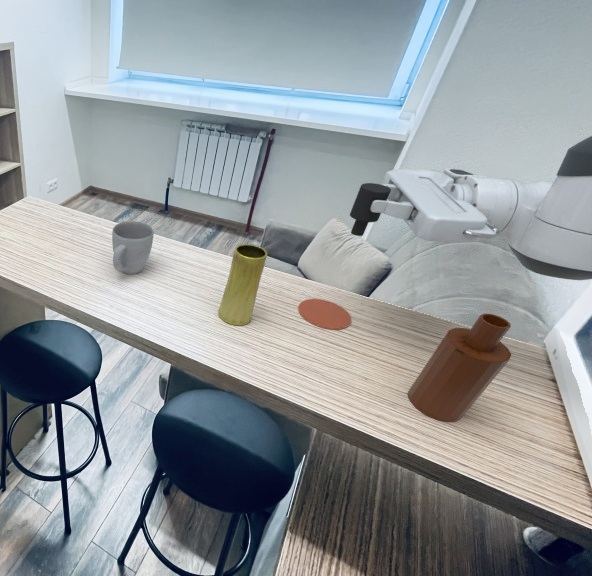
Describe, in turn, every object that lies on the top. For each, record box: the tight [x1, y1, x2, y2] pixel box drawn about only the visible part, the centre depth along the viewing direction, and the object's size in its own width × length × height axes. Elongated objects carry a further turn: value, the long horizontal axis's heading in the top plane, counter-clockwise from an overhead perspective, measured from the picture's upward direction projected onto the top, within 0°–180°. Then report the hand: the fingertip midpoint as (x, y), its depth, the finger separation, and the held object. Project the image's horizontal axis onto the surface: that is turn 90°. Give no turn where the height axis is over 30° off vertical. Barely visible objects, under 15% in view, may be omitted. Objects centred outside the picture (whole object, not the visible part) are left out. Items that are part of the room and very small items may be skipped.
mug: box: [111, 220, 154, 275], centre depth 89 cm, size 12×9×10 cm
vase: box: [217, 243, 268, 326], centre depth 74 cm, size 6×6×14 cm
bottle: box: [407, 313, 512, 423], centre depth 56 cm, size 6×6×16 cm
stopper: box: [349, 182, 391, 237], centre depth 66 cm, size 4×4×8 cm
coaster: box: [297, 298, 352, 331], centre depth 78 cm, size 9×9×1 cm
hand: (366, 197), depth 65 cm, fingers closed on stopper, 4 cm apart
